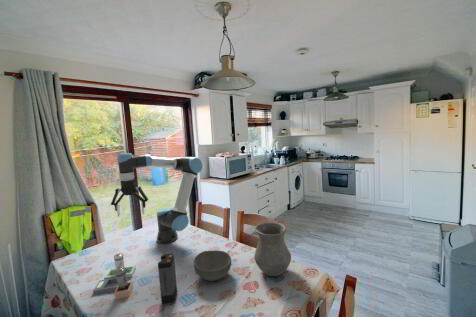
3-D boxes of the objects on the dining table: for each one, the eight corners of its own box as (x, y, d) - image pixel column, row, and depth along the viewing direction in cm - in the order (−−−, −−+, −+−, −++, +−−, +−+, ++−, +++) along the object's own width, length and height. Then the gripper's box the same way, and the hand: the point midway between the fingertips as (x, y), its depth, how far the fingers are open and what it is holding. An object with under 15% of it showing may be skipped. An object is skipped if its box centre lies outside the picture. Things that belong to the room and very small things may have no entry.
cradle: (124, 280, 122) (124, 276, 121) (119, 291, 113) (119, 286, 113) (100, 284, 119) (99, 280, 119) (93, 295, 111) (92, 290, 111)
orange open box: (133, 288, 114) (132, 281, 114) (129, 297, 108) (128, 290, 108) (119, 291, 113) (118, 283, 113) (115, 300, 107) (114, 292, 106)
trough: (135, 270, 131) (135, 265, 131) (132, 278, 123) (131, 273, 123) (110, 274, 128) (109, 269, 128) (104, 283, 120) (104, 277, 120)
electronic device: (165, 291, 111) (162, 253, 109) (177, 290, 111) (174, 252, 109) (160, 306, 101) (156, 264, 99) (174, 304, 102) (170, 263, 100)
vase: (260, 286, 111) (257, 238, 108) (251, 264, 129) (249, 223, 127) (297, 280, 114) (296, 233, 111) (284, 260, 132) (282, 219, 130)
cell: (126, 272, 128) (123, 251, 127) (123, 277, 124) (121, 255, 122) (117, 273, 127) (115, 252, 126) (115, 278, 123) (112, 256, 122)
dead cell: (131, 290, 112) (127, 265, 111) (125, 296, 108) (121, 271, 107) (123, 289, 113) (119, 265, 112) (117, 296, 109) (112, 271, 108)
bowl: (202, 294, 108) (200, 274, 107) (190, 272, 126) (189, 255, 125) (238, 279, 117) (237, 261, 116) (223, 261, 135) (222, 245, 134)
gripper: (150, 176, 138) (154, 209, 140) (106, 180, 133) (110, 214, 135) (148, 178, 130) (152, 213, 132) (101, 182, 125) (106, 219, 128)
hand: (131, 214), depth 134 cm, fingers open, 13 cm apart
